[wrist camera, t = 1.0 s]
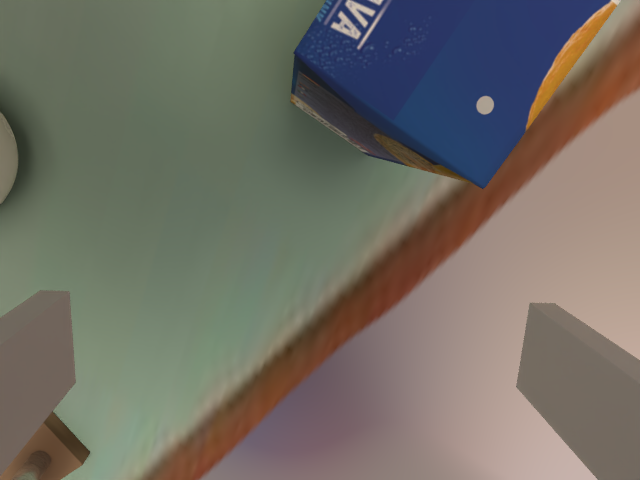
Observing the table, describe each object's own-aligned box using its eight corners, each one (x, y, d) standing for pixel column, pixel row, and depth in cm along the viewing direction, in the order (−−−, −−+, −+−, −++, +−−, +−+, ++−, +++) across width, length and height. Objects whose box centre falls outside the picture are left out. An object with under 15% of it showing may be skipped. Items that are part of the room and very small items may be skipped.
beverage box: (455, 25, 35) (730, -151, 13) (367, 156, 36) (483, 189, 15) (377, -35, 33) (539, -339, 12) (289, 102, 35) (292, 53, 14)
